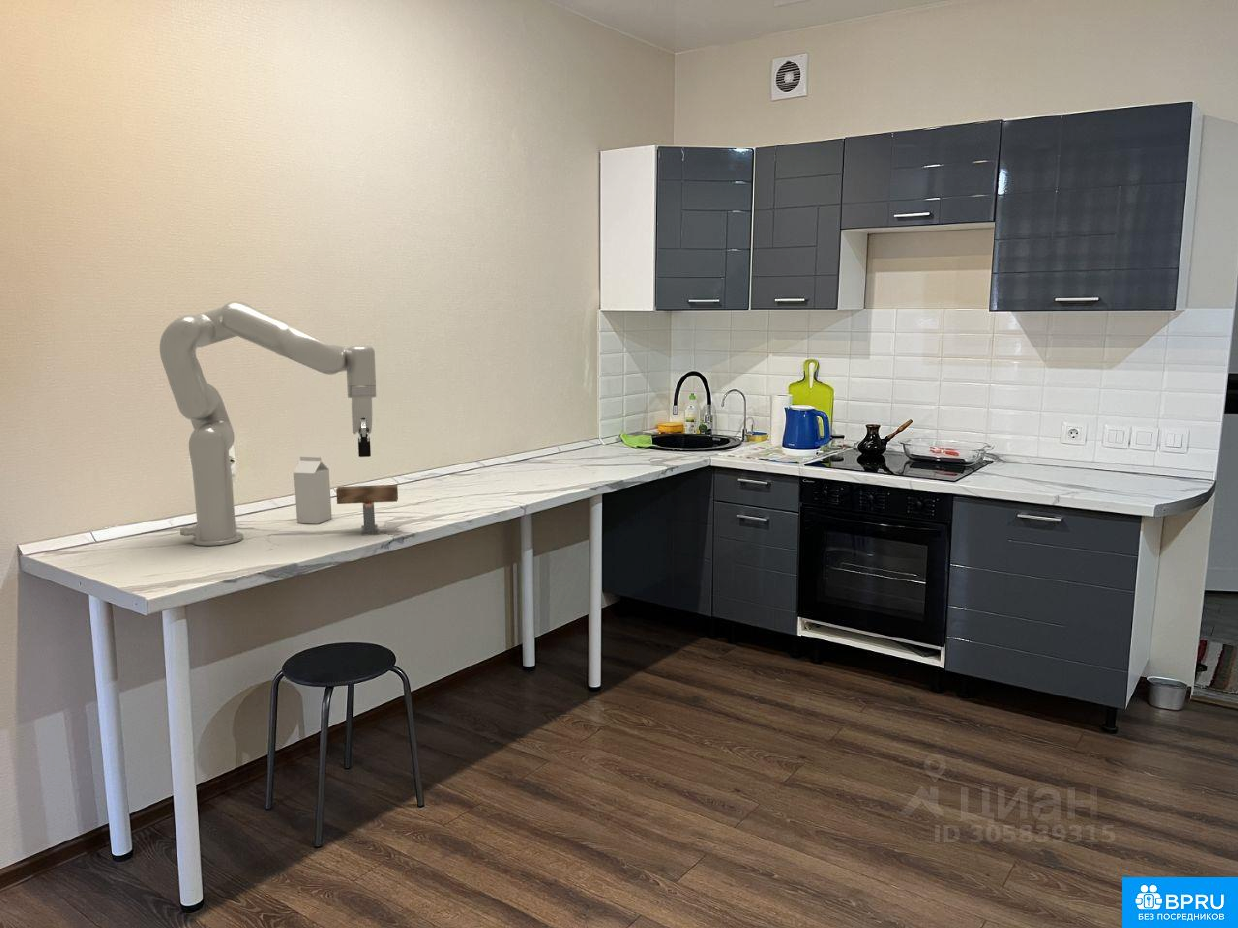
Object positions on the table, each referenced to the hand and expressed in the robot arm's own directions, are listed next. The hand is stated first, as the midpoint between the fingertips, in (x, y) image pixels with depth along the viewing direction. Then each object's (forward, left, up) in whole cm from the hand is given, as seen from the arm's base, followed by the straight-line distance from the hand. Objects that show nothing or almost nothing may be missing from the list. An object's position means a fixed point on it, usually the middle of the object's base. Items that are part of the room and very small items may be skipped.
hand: (364, 454), depth 260 cm
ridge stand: (0, 0, -22) cm, 22 cm away
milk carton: (-15, +19, -22) cm, 33 cm away
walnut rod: (0, 0, -13) cm, 13 cm away
